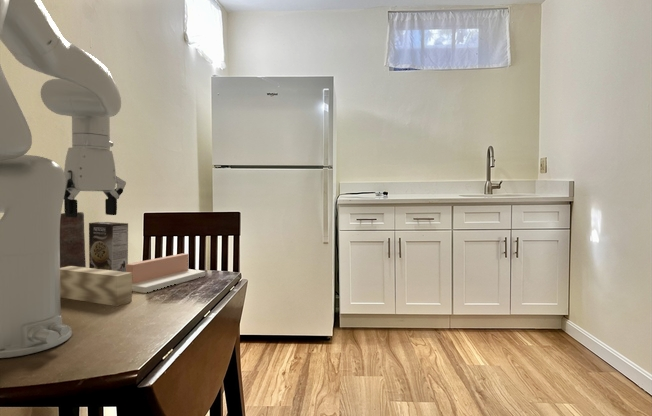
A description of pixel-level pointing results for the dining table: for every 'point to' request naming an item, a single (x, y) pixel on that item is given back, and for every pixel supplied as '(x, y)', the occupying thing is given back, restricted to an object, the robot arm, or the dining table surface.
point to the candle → (72, 241)
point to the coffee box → (108, 246)
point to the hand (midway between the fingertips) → (92, 215)
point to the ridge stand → (161, 272)
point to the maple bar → (96, 285)
